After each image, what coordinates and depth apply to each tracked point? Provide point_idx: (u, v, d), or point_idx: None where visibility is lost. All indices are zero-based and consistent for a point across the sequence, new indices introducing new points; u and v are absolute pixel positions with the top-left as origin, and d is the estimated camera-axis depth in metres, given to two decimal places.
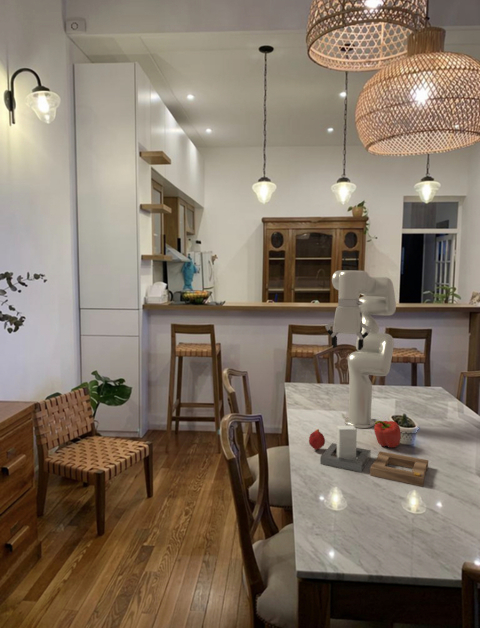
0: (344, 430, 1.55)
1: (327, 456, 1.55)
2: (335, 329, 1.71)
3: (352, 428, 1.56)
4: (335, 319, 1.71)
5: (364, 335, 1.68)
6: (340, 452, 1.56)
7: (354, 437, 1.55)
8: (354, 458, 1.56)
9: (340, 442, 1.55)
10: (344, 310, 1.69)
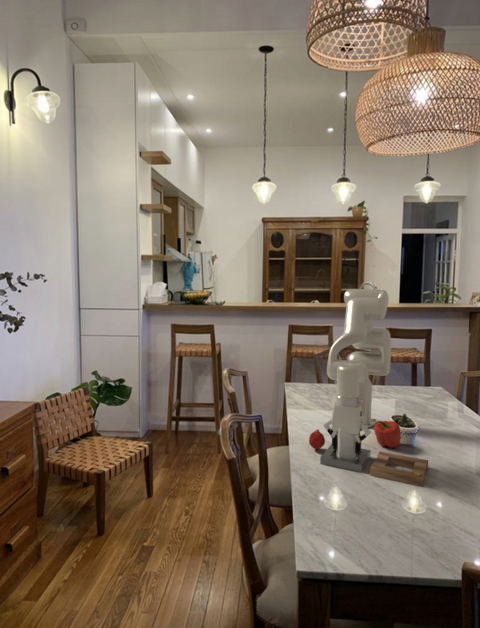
0: (344, 430, 1.55)
1: (327, 456, 1.55)
2: (333, 428, 1.57)
3: None
4: (333, 417, 1.57)
5: (362, 438, 1.54)
6: (340, 452, 1.56)
7: (354, 437, 1.55)
8: (354, 458, 1.56)
9: (340, 442, 1.55)
10: (343, 409, 1.54)
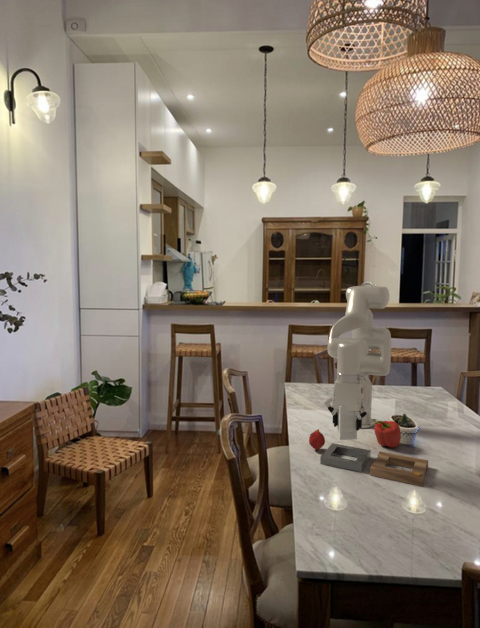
0: (345, 407, 1.55)
1: (327, 456, 1.55)
2: (334, 405, 1.57)
3: None
4: (333, 394, 1.56)
5: (363, 415, 1.53)
6: (341, 429, 1.55)
7: (355, 414, 1.55)
8: (355, 435, 1.56)
9: (341, 419, 1.55)
10: (343, 386, 1.54)
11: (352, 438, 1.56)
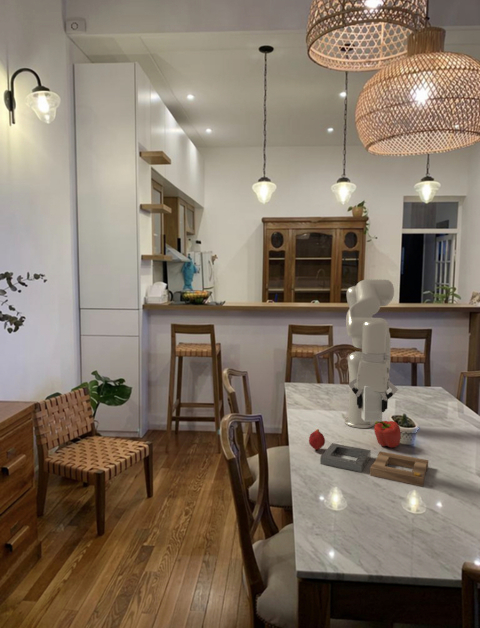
0: (370, 388, 1.50)
1: (327, 456, 1.55)
2: (358, 386, 1.52)
3: None
4: (358, 374, 1.52)
5: (389, 396, 1.48)
6: (365, 411, 1.50)
7: (380, 395, 1.50)
8: (380, 417, 1.50)
9: (365, 400, 1.50)
10: (369, 366, 1.49)
11: (377, 420, 1.51)
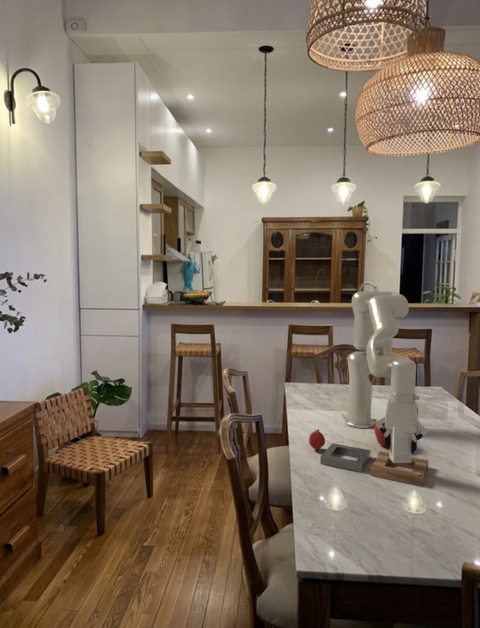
0: (399, 429, 1.46)
1: (327, 456, 1.55)
2: (387, 426, 1.48)
3: None
4: (386, 414, 1.48)
5: (418, 437, 1.45)
6: (394, 452, 1.47)
7: (409, 436, 1.47)
8: (409, 458, 1.47)
9: (395, 441, 1.47)
10: (398, 406, 1.46)
11: (406, 461, 1.47)
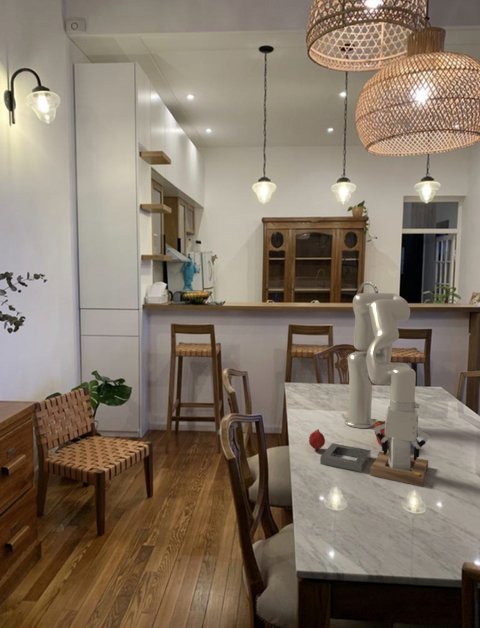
0: (398, 439, 1.47)
1: (327, 456, 1.55)
2: (386, 434, 1.49)
3: None
4: (386, 422, 1.48)
5: (421, 444, 1.45)
6: (393, 462, 1.47)
7: (408, 446, 1.47)
8: (408, 468, 1.48)
9: (393, 452, 1.47)
10: (398, 414, 1.46)
11: None
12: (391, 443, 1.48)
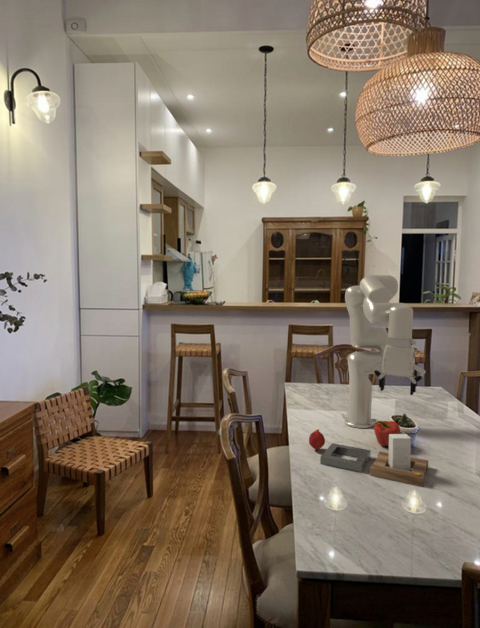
0: (398, 439, 1.47)
1: (327, 456, 1.55)
2: (384, 370, 1.53)
3: (406, 437, 1.48)
4: (384, 359, 1.52)
5: (417, 379, 1.49)
6: (393, 462, 1.47)
7: (408, 446, 1.47)
8: (408, 468, 1.48)
9: (393, 452, 1.47)
10: (395, 351, 1.50)
11: None
12: (391, 443, 1.48)
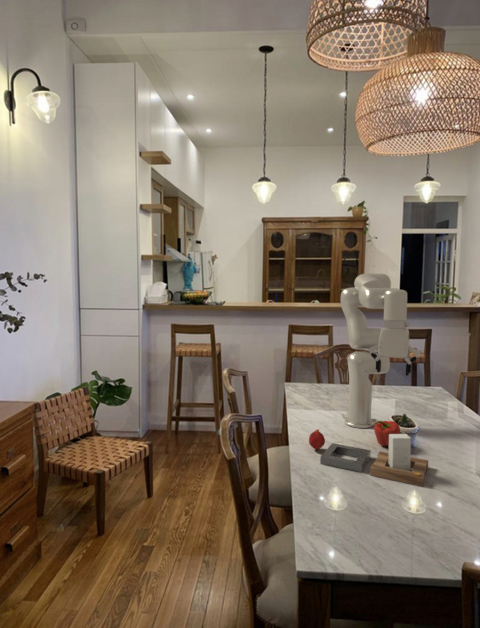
0: (398, 439, 1.47)
1: (327, 456, 1.55)
2: (380, 352, 1.58)
3: (406, 437, 1.48)
4: (380, 341, 1.58)
5: (412, 359, 1.54)
6: (393, 462, 1.47)
7: (408, 446, 1.47)
8: (408, 468, 1.48)
9: (393, 452, 1.47)
10: (391, 332, 1.56)
11: None
12: (391, 443, 1.48)
